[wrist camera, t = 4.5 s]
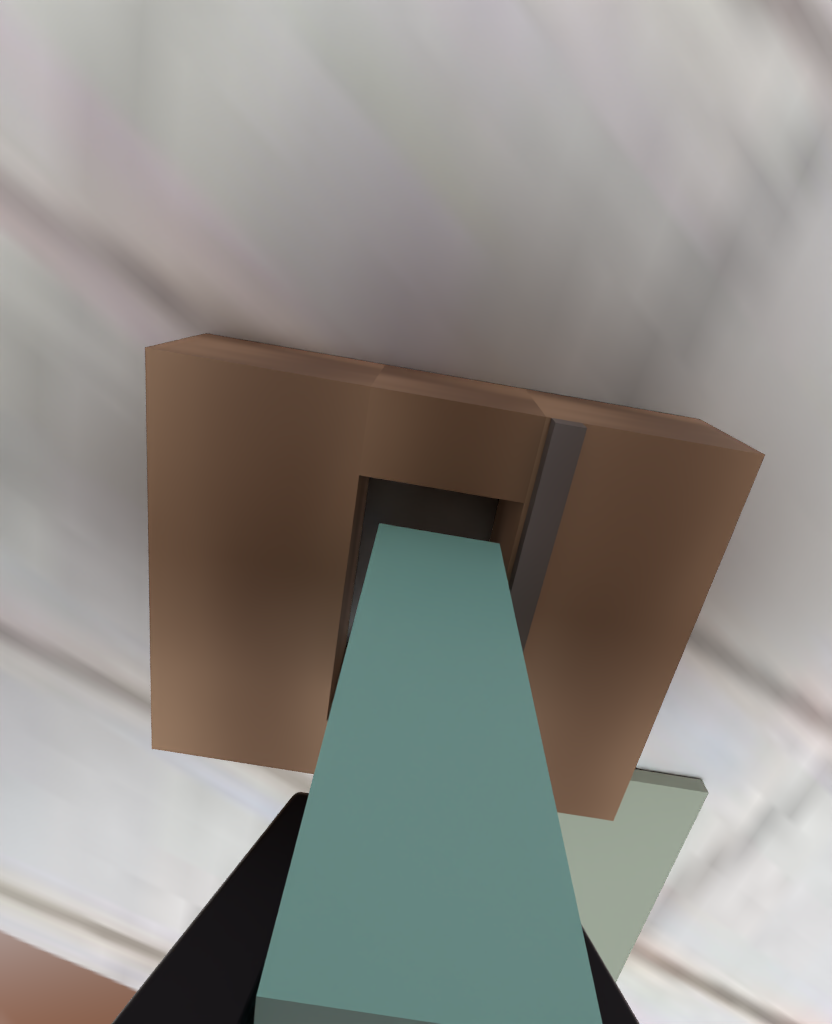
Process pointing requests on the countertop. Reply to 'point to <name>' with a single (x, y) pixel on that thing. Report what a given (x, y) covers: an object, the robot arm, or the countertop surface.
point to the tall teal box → (430, 818)
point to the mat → (628, 858)
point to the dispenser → (338, 527)
